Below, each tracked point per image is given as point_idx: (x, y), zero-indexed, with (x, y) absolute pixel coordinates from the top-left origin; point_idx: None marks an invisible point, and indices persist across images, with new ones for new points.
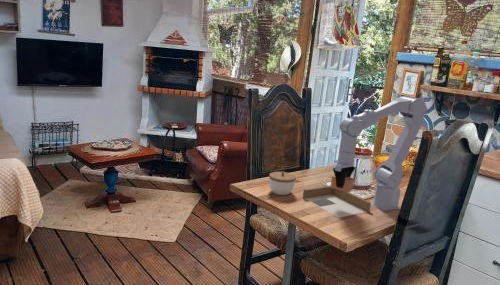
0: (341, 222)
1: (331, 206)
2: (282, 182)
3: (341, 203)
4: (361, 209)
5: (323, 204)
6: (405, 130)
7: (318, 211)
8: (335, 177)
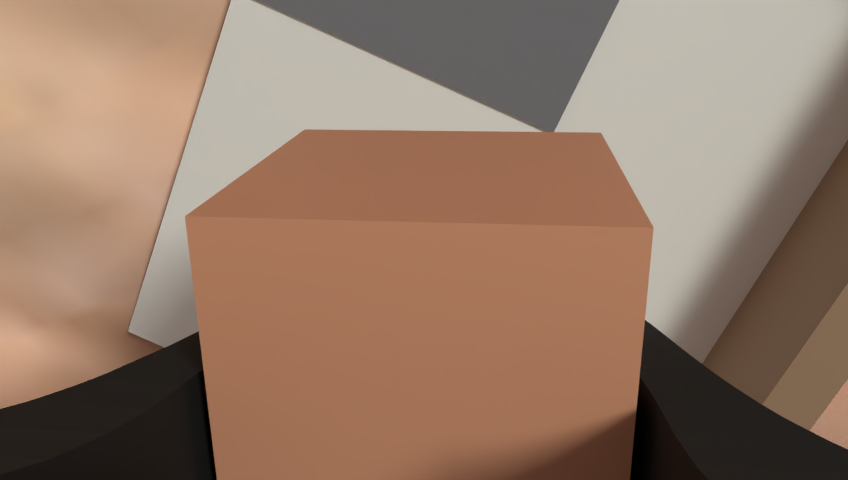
0: (92, 374)
1: (397, 126)
2: None
3: (638, 194)
4: None
5: (363, 2)
6: None
7: (140, 36)
8: (67, 389)
